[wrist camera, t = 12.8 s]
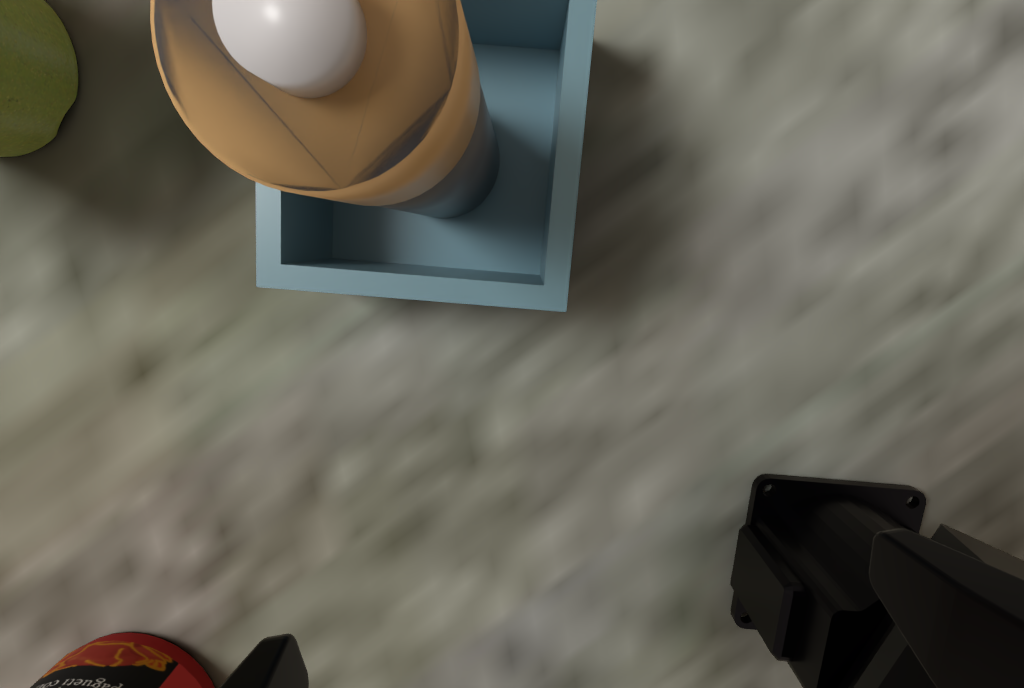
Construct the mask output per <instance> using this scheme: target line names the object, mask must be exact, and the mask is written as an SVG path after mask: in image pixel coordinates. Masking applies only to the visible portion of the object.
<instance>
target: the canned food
mask: <svg viewBox="0 0 1024 688" xmlns="http://www.w3.org/2000/svg"><path fill="white" fill-rule="evenodd" d="M30 688H215V687H214V685H213V683H212V681H211V679H210V678H209V676H208V675H207V673H206V672H205V671H204V669H203V668H202V667H201V666H200V665H199V664H198V663H197V662H196V661H195V660H194V659H193V658H192V657H191V656H190V655H189V654H188V653H186V652H185V651H183V650H182V649H180V648H179V647H178V646H176V645H174V644H172V643H170V642H168V641H165V640H163V639H161V638H158V637H154V636H151V635H147V634H140V633H130V632H128V633H116V634H111V635H107V636H104V637H100V638H98V639H96V640H94V641H92V642H90V643H88V644H86V645H84V646H82V647H80V648H78V649H76V650H74V651H73V652H71V653H69V654H67V655H66V656H65V657H64V658H63V659H61V660H60V661H59V662H58V663H57V664H56V665H55V666H53V667H52V668H51V669H50V670H49V671H48V672H47V673H46V674H45V675H44V676H42V677H41V678H40V679H39V680H38V681H37V682H36V683H35V684H34V685H33V686H31V687H30Z"/></svg>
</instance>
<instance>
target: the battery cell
mask: <svg viewBox="0 0 1024 688" xmlns="http://www.w3.org/2000/svg"><path fill="white" fill-rule="evenodd" d="M150 23H151V33H152V43H153V48H154V52H155V57H156V62H157V66H158V69H159V71H160V74H161V77H162V80H163V83H164V86H165V88H166V90H167V92H168V94H169V96H170V99H171V101H172V103H173V105H174V107H175V108H176V110H177V111H178V113H179V115H180V116H181V118H182V119H183V121H184V122H185V124H186V125H187V127H188V128H189V129H190V130H191V131H192V133H193V134H194V135H195V136H196V138H197V139H198V140H199V141H200V142H201V143H202V144H203V145H204V146H205V147H206V148H207V149H208V150H209V151H210V152H211V153H212V154H213V155H214V156H215V157H217V158H218V159H219V160H221V161H222V162H223V163H224V164H226V165H227V166H228V167H230V168H231V169H233V170H235V171H236V172H238V173H240V174H241V175H243V176H245V177H246V178H248V179H250V180H253V181H255V182H257V183H260V184H262V185H264V186H267V187H270V188H274V189H277V190H281V191H284V192H289V193H295V194H300V195H306V196H311V197H317V198H322V199H328V200H333V201H339V202H344V203H350V204H356V205H363V206H379V207H384V208H389V209H394V210H399V211H404V212H409V213H414V214H420V215H425V216H430V217H436V218H451V217H457V216H460V215H463V214H465V213H468V212H470V211H471V210H473V209H475V208H476V207H477V206H478V205H480V204H481V203H482V202H483V201H484V200H485V199H486V197H487V196H488V195H489V193H490V192H491V190H492V188H493V186H494V184H495V182H496V179H497V176H498V172H499V165H500V155H499V147H498V143H497V139H496V136H495V132H494V129H493V125H492V122H491V118H490V115H489V111H488V108H487V104H486V101H485V97H484V94H483V91H482V87H481V84H480V78H479V70H478V65H477V61H476V57H475V53H474V49H473V45H472V42H471V38H470V34H469V31H468V27H467V23H466V20H465V16H464V12H463V9H462V5H461V1H460V0H151V9H150Z"/></svg>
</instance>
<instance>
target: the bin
mask: <svg viewBox="0 0 1024 688" xmlns="http://www.w3.org/2000/svg"><path fill="white" fill-rule="evenodd" d="M460 1H461V5H462V9H463V12H464V16H465V20H466V23H467V27H468V31H469V34H470V38H471V42H472V45H473V49H474V53H475V57H476V61H477V65H478V70H479V78H480V84H481V87H482V91H483V94H484V97H485V101H486V104H487V108H488V111H489V115H490V118H491V122H492V125H493V129H494V132H495V136H496V139H497V143H498V147H499V155H500V165H499V172H498V176H497V179H496V182H495V184H494V186H493V188H492V190H491V192H490V193H489V195H488V196H487V197H486V199H485V200H484V201H483V202H482V203H481V204H480V205H478V206H477V207H476V208H475V209H473V210H471V211H470V212H468V213H465V214H463V215H460V216H457V217H451V218H436V217H430V216H425V215H420V214H414V213H409V212H404V211H399V210H394V209H389V208H384V207H379V206H363V205H356V204H350V203H344V202H339V201H333V200H328V199H322V198H317V197H311V196H306V195H300V194H295V193H289V192H284V191H281V190H277V189H274V188H270V187H267V186H264V185H262V184H260V183H257V182H256V287H264V288H276V289H288V290H301V291H313V292H325V293H338V294H350V295H362V296H375V297H387V298H399V299H412V300H424V301H436V302H448V303H461V304H473V305H485V306H498V307H510V308H522V309H535V310H547V311H559V312H566V309H567V299H568V289H569V279H570V269H571V258H572V248H573V238H574V228H575V218H576V207H577V197H578V187H579V177H580V167H581V156H582V146H583V136H584V126H585V116H586V105H587V95H588V85H589V75H590V65H591V54H592V44H593V34H594V24H595V14H596V3H597V0H460Z"/></svg>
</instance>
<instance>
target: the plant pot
mask: <svg viewBox="0 0 1024 688" xmlns="http://www.w3.org/2000/svg"><path fill="white" fill-rule="evenodd" d="M77 89H78V67H77V61H76V55H75V52H74V49H73V46H72V43H71V40H70V38H69V35H68V33H67V31H66V29H65V27H64V25H63V23H62V22H61V20H60V19H59V17H58V16H57V14H56V13H55V12H54V10H53V9H52V8H51V7H50V6H49V5H48V4H47V3H46V2H45V1H44V0H0V157H13V156H20V155H24V154H27V153H30V152H33V151H35V150H37V149H39V148H41V147H43V146H45V145H46V144H47V143H49V142H50V141H51V140H52V139H53V138H54V137H55V136H56V135H57V130H58V128H59V125H60V123H61V121H62V119H63V117H64V115H65V114H66V112H67V111H68V109H69V108H70V107H71V106H72V104H73V103H74V101H75V99H76V96H77Z"/></svg>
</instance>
